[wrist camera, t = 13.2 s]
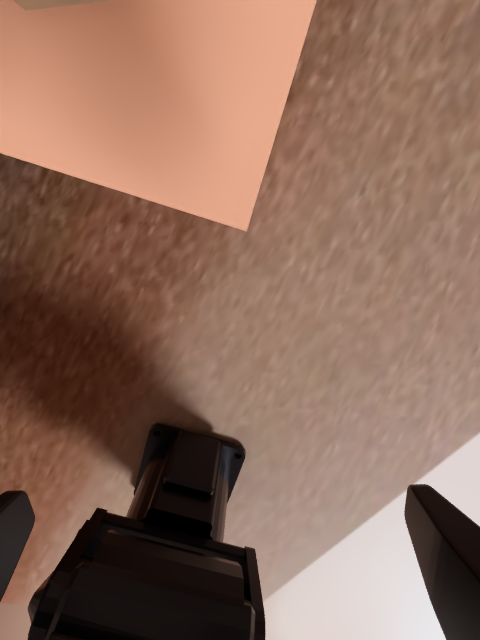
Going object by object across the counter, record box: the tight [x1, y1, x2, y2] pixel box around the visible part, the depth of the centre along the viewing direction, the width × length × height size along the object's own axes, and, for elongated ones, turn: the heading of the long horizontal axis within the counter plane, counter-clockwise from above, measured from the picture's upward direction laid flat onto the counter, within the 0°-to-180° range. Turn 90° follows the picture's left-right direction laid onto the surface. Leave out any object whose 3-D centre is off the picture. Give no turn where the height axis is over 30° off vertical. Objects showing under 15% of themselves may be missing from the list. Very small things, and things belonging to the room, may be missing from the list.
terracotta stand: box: [0, 0, 317, 231], centre depth 14 cm, size 13×16×3 cm
